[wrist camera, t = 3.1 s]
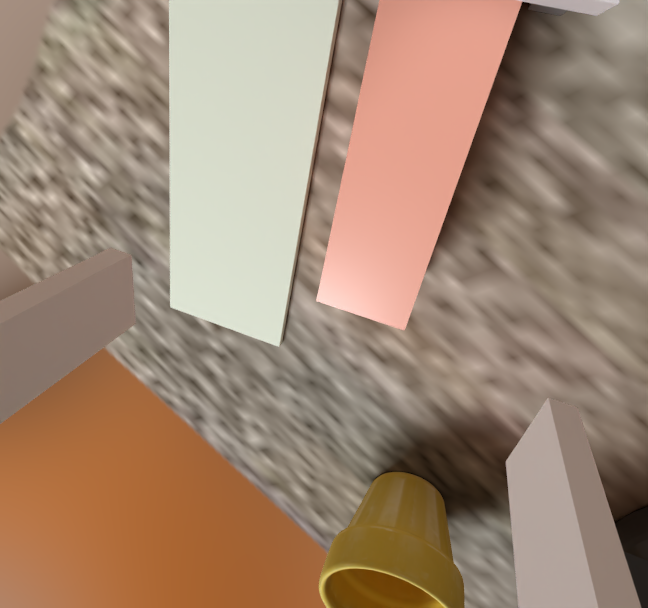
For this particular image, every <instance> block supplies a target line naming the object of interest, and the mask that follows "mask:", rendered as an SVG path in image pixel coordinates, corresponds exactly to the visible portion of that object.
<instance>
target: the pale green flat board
mask: <svg viewBox="0 0 648 608" xmlns="http://www.w3.org/2000/svg"><path fill="white" fill-rule="evenodd" d="M341 5H342V0H169V100H170V307H171V308H174V309H177V310H179V311H182V312H185V313H188V314H190V315H193V316H196V317H199V318H201V319H204V320H207V321H210V322H212V323H215V324H218V325H221V326H223V327H226V328H229V329H232V330H234V331H237V332H240V333H243V334H245V335H248V336H251V337H253V338H256V339H259V340H262V341H264V342H267V343H270V344H273V345H275V346H278V347H280V345H281V344H282V341H283V335H284V329H285V324H286V318H287V312H288V307H289V301H290V295H291V290H292V284H293V278H294V273H295V267H296V261H297V255H298V250H299V244H300V238H301V233H302V227H303V221H304V216H305V210H306V204H307V198H308V193H309V187H310V181H311V176H312V170H313V164H314V159H315V153H316V147H317V141H318V136H319V130H320V124H321V119H322V113H323V107H324V102H325V96H326V90H327V85H328V79H329V73H330V67H331V62H332V56H333V50H334V45H335V39H336V33H337V28H338V22H339V16H340V10H341Z"/></svg>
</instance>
